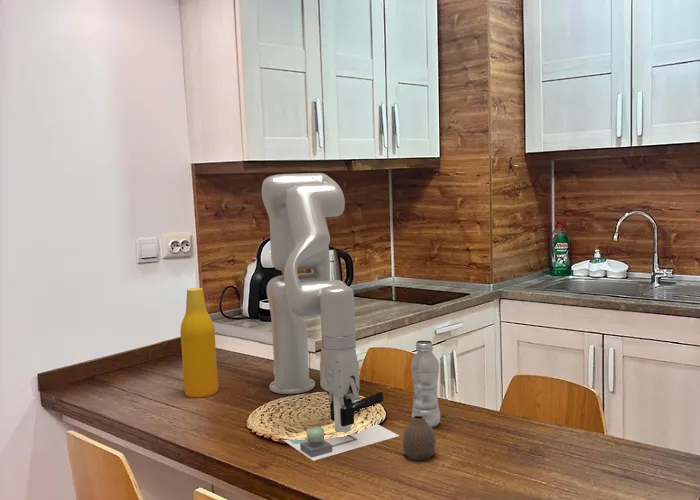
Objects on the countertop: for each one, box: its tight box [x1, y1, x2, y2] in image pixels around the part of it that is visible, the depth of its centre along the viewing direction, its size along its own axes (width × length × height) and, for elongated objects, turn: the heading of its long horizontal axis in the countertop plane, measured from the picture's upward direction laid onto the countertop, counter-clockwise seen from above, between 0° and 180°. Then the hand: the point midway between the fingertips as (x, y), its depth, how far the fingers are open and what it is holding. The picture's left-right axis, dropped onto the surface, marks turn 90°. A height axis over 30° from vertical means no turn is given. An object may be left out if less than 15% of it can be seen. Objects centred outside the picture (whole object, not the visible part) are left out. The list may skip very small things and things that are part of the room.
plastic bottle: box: [410, 339, 441, 429], centre depth 162 cm, size 6×7×20 cm
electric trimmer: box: [354, 391, 384, 412], centre depth 176 cm, size 4×15×3 cm, turn 139°
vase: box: [401, 415, 437, 461], centre depth 145 cm, size 7×7×9 cm
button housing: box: [300, 440, 332, 457], centre depth 150 cm, size 5×5×2 cm
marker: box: [333, 391, 351, 432], centre depth 157 cm, size 4×4×10 cm
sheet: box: [282, 423, 400, 462], centre depth 158 cm, size 16×22×1 cm
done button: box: [306, 426, 324, 442], centre depth 150 cm, size 4×4×2 cm
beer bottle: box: [179, 287, 219, 399], centre depth 193 cm, size 9×9×29 cm
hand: (342, 421), depth 157 cm, fingers closed on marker, 3 cm apart
